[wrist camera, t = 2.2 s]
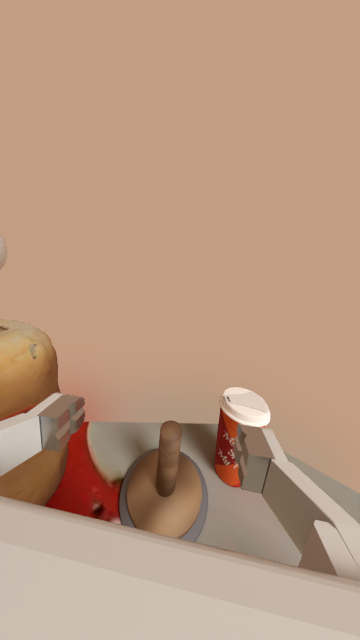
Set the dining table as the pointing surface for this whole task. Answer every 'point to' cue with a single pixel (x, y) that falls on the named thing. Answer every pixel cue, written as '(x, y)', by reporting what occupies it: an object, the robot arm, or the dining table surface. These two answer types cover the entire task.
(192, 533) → the charcoal mat
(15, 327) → the butternut squash
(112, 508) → the dining table surface
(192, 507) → the walnut lid
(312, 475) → the dining table surface
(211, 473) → the dining table surface
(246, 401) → the paper cup
